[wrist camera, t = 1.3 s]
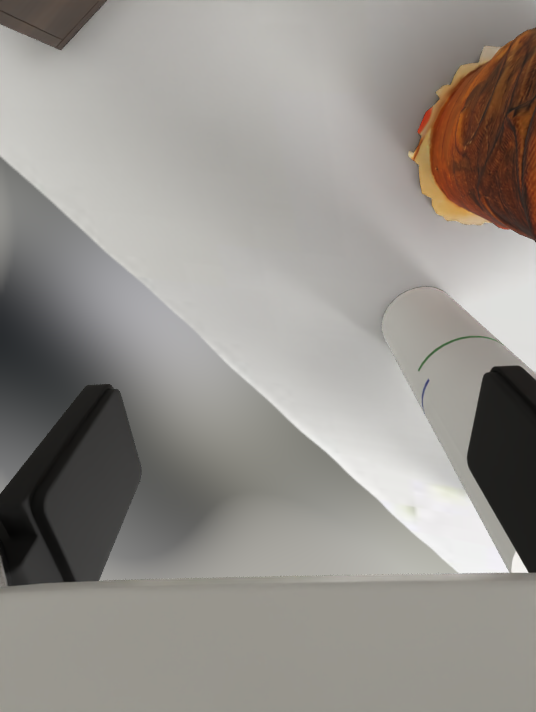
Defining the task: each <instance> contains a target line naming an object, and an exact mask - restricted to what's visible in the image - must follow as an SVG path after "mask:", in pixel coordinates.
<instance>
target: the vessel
mask: <svg viewBox="0 0 536 712" xmlns="http://www.w3.org/2000/svg"><path fill="white" fill-rule="evenodd" d="M435 93H436V94H437V95H438V97H439V98H440V99H439V100H438V101H437V102H436V103H435V105H434V106H432V107H431V108H430V109H429V110H428V111H427V112H426V113H425V115H424V118H423V120H422V122H421V125H420V127H419V129H418V133H419V134H420V135H421V136H422V137H421V139H420V142H419V145H418V147H417V148H416V150H415V151H414V153H412V152H410V151H409V154H408V156H409V157H410V158H411V159H412V160H413V161H415V162H416V163H417V164H418V165H419V178H420V187H421V191H422V194H424V195H426V196H428V197H430V198H432V206H433V208H434V210H435V212H436V213H437V214H438V215H440V216H443V217H444V218H445V219H446V220H447V221H458V222H460V223H462V224H465V225H472V224H474V225H482V224H483V223H485V222H487V223H493V224H495V225H496V226H497V227H499V228H502V229H511V230H513V231H515V232H516V233H518V234H520V235H523V236H525V237H528V238H531V239H533V240H534V241H535V242H536V28H533V29H530V30H527V31H525V32H523V33H521V34H520V35H518V36H517V37H516V38H515V39H514V40H512V41H510V42H509V43H507V44H506V45H504V46H500V47H493V46H484V48H483V50H482V52H481V56H480V60H479V63H469V64H465V65H461V66H460V67H459V69H458V71H457V72H456V74H455V76H454V78H453V80H452V83H451V85H443V86H442V87H441V88H440V89H439V90H438V91H436V92H435Z"/></svg>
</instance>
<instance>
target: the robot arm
mask: <svg viewBox="0 0 536 712" xmlns="http://www.w3.org/2000/svg"><path fill="white" fill-rule="evenodd" d="M467 464H468V467H469V470H470V472H471V473H472V475H473V477H474V479H475V480H476V482H477V484H478V486H479V487H480V489H481V491H482V492H483V494H484V496H485V498H486V499H487V501H488V503H489V505H490V506H491V508H492V510H493V512H494V513H495V515H496V517H497V519H498V520H499V522H500V524H501V526H502V527H503V529H504V531H505V533H506V534H507V536H508V538H509V539H510V541H511V543H512V545H513V546H514V548H515V550H516V552H517V553H518V555H519V557H520V559H521V560H522V562H523V564H524V566H525V567H526V569H527V571H528V573H456V574H385V575H384V574H382V575H324V576H273V577H226V578H186V579H185V578H184V579H141V580H109V581H99V579H100V577H101V574H102V572H103V569H104V567H105V564H106V562H107V560H108V557H109V554H110V552H111V550H112V547H113V545H114V543H115V540H116V538H117V535H118V533H119V531H120V528H121V525H122V523H123V521H124V518H125V516H126V513H127V511H128V509H129V506H130V504H131V501H132V499H133V497H134V494H135V492H136V489H137V487H138V484H139V482H140V479H141V464H140V461H139V457H138V454H137V450H136V446H135V443H134V440H133V436H132V432H131V429H130V425H129V422H128V418H127V414H126V411H125V407H124V404H123V400H122V397H121V393H120V391H119V390H118V389H114V388H113V387H112V385H110V384H102V385H101V384H100V385H87V386H86V387H85V388H84V389H83V391H82V392H81V393H80V394H79V396H78V397H77V398H76V399H75V400H74V402H73V403H72V404H71V405H70V407H69V408H68V409H67V410H66V412H65V413H64V414H63V415H62V417H61V418H60V419H59V421H58V422H57V423H56V425H55V426H54V427H53V428H52V429H51V431H50V432H49V433H48V434H47V436H46V437H45V438H44V440H43V441H42V442H41V443H40V445H39V446H38V447H37V448H36V450H35V451H34V452H33V453H32V455H31V456H30V457H29V458H28V460H27V461H26V462H25V463H24V465H23V466H22V467H21V469H20V470H19V471H18V472H17V474H16V475H15V476H14V477H13V479H12V480H11V481H10V482H9V484H8V485H7V486H6V487H5V489H4V490H3V491H2V492H1V494H0V712H536V380H535V379H534V378H533V377H532V376H531V375H530V374H529V373H528V372H527V371H526V370H525V369H523V368H522V367H521V366H518V365H514V366H494V367H493V368H492V369H491V370H490V372H487V373H485V374H484V375H483V378H482V383H481V388H480V393H479V398H478V403H477V408H476V413H475V418H474V423H473V428H472V432H471V437H470V442H469V447H468V452H467Z"/></svg>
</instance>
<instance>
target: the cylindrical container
mask: <svg viewBox="0 0 536 712" xmlns="http://www.w3.org/2000/svg"><path fill="white" fill-rule="evenodd" d="M382 333H383V336H384V339H385V341H386V343H387V345H388V346H389V348H390V350H391V352H392V354H393V356H394V358H395V360H396V361H397V363H398V365H399V367H400V369H401V371H402V373H403V375H404V376H405V378H406V380H407V382H408V384H409V386H410V388H411V389H412V391H413V393H414V395H415V397H416V399H417V401H418V403H419V404H420V406H421V408H422V410H423V412H424V414H425V416H426V417H427V419H428V421H429V423H430V425H431V427H432V429H433V431H434V432H435V434H436V436H437V438H438V440H439V442H440V444H441V446H442V447H443V449H444V451H445V453H446V455H447V457H448V459H449V460H450V462H451V464H452V466H453V468H454V470H455V472H456V474H457V475H458V477H459V479H460V481H461V483H462V485H463V487H464V489H465V490H466V492H467V494H468V496H469V498H470V500H471V502H472V503H473V505H474V507H475V509H476V511H477V513H478V515H479V516H480V518H481V520H482V522H483V524H484V526H485V528H486V530H487V531H488V533H489V535H490V537H491V539H492V541H493V543H494V544H495V546H496V548H497V550H498V552H499V554H500V556H501V558H502V559H503V561H504V563H505V565H506V567H507V569H508V571H509V572H510V573H528V571H527V569H526V567H525V566H524V564H523V562H522V560H521V559H520V557H519V555H518V553H517V552H516V550H515V548H514V546H513V545H512V543H511V541H510V539H509V538H508V536H507V534H506V533H505V531H504V529H503V527H502V526H501V524H500V522H499V520H498V519H497V517H496V515H495V513H494V512H493V510H492V508H491V506H490V505H489V503H488V501H487V499H486V498H485V496H484V494H483V492H482V491H481V489H480V487H479V486H478V484H477V482H476V480H475V479H474V477H473V475H472V473H471V472H470V470H469V467H468V464H467V452H468V447H469V442H470V437H471V432H472V428H473V423H474V418H475V413H476V408H477V403H478V398H479V393H480V388H481V383H482V378H483V375H484V374H485V373H487V372H490V370H491V369H492V368H493V367H494V366H514V365H518V366H521V367H522V368H523V369H525V370H526V371H527V372H528V373H529V374H530V375H531V376H532V377H533V378H534V379H535V380H536V374H535V373H534V372H533V371H532V370H531V369H530V368H529V367H528V366H527V365H525V364H524V363H523V362H522V361H521V360H520V359H519V358H518V357H517V356H515V355H514V354H513V353H512V352H511V351H510V350H509V349H508V348H507V347H505V346H504V345H503V344H502V343H501V342H500V341H499V340H498V339H497V338H495V337H494V336H493V335H492V334H491V333H490V332H489V331H488V330H487V329H486V328H484V327H483V326H482V325H481V324H480V323H479V322H478V321H477V320H476V319H475V318H473V317H472V316H471V315H470V314H469V313H468V312H467V311H466V310H465V309H463V308H462V307H461V306H460V305H459V304H458V303H457V302H456V301H455V300H454V299H452V298H451V297H450V296H449V295H448V294H446V293H445V292H444V291H442V290H439V289H437V288H432V287H419V288H414V289H411V290H408V291H406V292H404V293H402V294H401V295H399V296H398V297H397V298H396V299H394V300H393V301H392V303H391V304H390V305H389V306H388V308H387V310H386V311H385V313H384V316H383V319H382Z"/></svg>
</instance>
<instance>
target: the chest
mask: <svg viewBox="0 0 536 712" xmlns="http://www.w3.org/2000/svg"><path fill="white" fill-rule="evenodd" d="M105 2H106V0H0V24H1V25H3V26H6V27H8V28H10V29H13V30H15V31H17V32H20V33H22V34H24V35H27V36H29V37H32V38H34V39H36V40H39V41H41V42H43V43H46V44H48V45H50V46H53V47H55V48H57V49H59V50H61V49H62V48H63V47H64V46H65V45H66V44H67V43H68V42H69V41H70V39H71V38H72V37H73V36H74V35H75V34H76V33H77V32H78V31H79V30H80V29H81V28H82V26H83V25H84V24H85V23H86V22H87V21H88V20H89V19H90V18H91V17H92V16H93V15H94V13H95V12H96V11H97V10H98V9H99V8H100V7H101V6H102V5H103V4H104V3H105Z"/></svg>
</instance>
